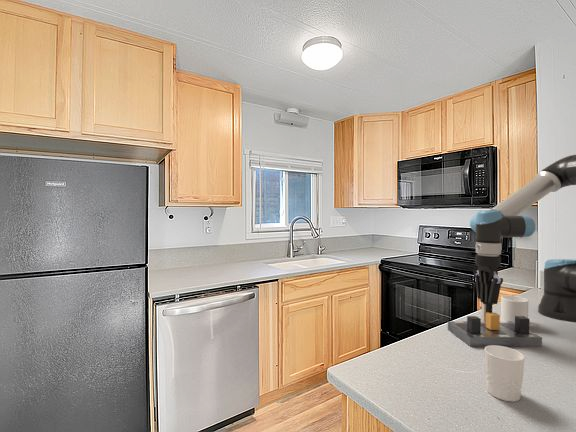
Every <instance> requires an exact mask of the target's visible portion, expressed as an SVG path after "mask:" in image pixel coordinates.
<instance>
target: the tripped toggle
mask: <svg viewBox="0 0 576 432" xmlns="http://www.w3.org/2000/svg"><path fill="white" fill-rule="evenodd" d="M500 321H501V314H499V313H497V312H492V313H486V327H487V328H488V329H490V330H499V327H500Z"/></svg>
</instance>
